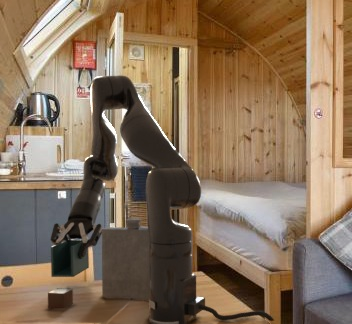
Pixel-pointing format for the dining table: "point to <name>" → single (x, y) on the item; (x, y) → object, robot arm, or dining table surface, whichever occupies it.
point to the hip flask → (126, 261)
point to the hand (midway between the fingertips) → (67, 256)
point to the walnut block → (60, 298)
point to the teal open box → (68, 259)
